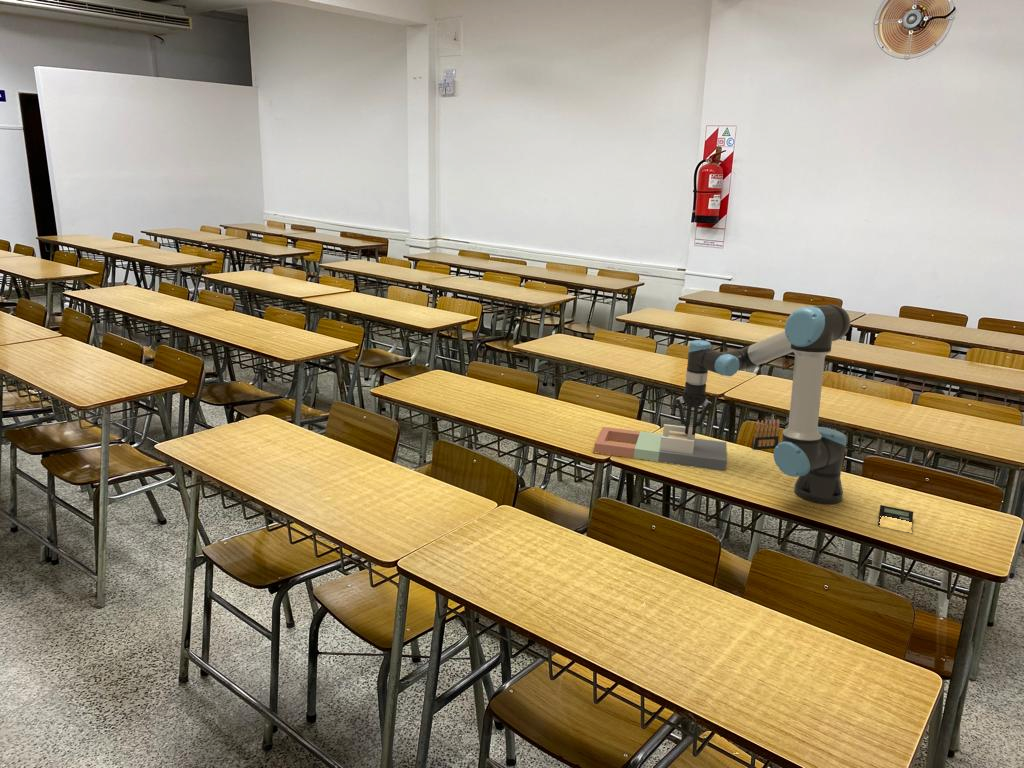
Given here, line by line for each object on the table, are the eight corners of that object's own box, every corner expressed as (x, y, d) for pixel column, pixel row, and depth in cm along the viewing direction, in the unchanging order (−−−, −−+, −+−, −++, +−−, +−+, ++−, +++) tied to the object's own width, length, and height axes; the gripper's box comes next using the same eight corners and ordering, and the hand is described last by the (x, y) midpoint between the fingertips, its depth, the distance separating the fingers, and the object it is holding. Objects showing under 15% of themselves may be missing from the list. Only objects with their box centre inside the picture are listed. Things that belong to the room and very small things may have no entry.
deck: (725, 471, 258) (728, 447, 256) (593, 453, 270) (595, 430, 268) (725, 451, 277) (727, 429, 274) (602, 436, 289) (603, 414, 286)
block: (686, 449, 267) (687, 439, 266) (667, 446, 269) (668, 436, 268) (687, 442, 273) (688, 433, 272) (668, 440, 275) (669, 430, 274)
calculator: (877, 527, 221) (879, 518, 220) (878, 512, 231) (880, 504, 230) (912, 534, 216) (913, 526, 216) (911, 519, 226) (913, 511, 226)
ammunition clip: (775, 446, 285) (779, 418, 281) (777, 448, 283) (782, 419, 279) (750, 448, 282) (754, 419, 279) (753, 449, 280) (757, 420, 277)
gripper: (714, 381, 265) (707, 441, 272) (678, 377, 268) (672, 436, 275) (714, 387, 258) (706, 448, 265) (677, 383, 261) (670, 443, 268)
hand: (689, 442), depth 270 cm, fingers closed
